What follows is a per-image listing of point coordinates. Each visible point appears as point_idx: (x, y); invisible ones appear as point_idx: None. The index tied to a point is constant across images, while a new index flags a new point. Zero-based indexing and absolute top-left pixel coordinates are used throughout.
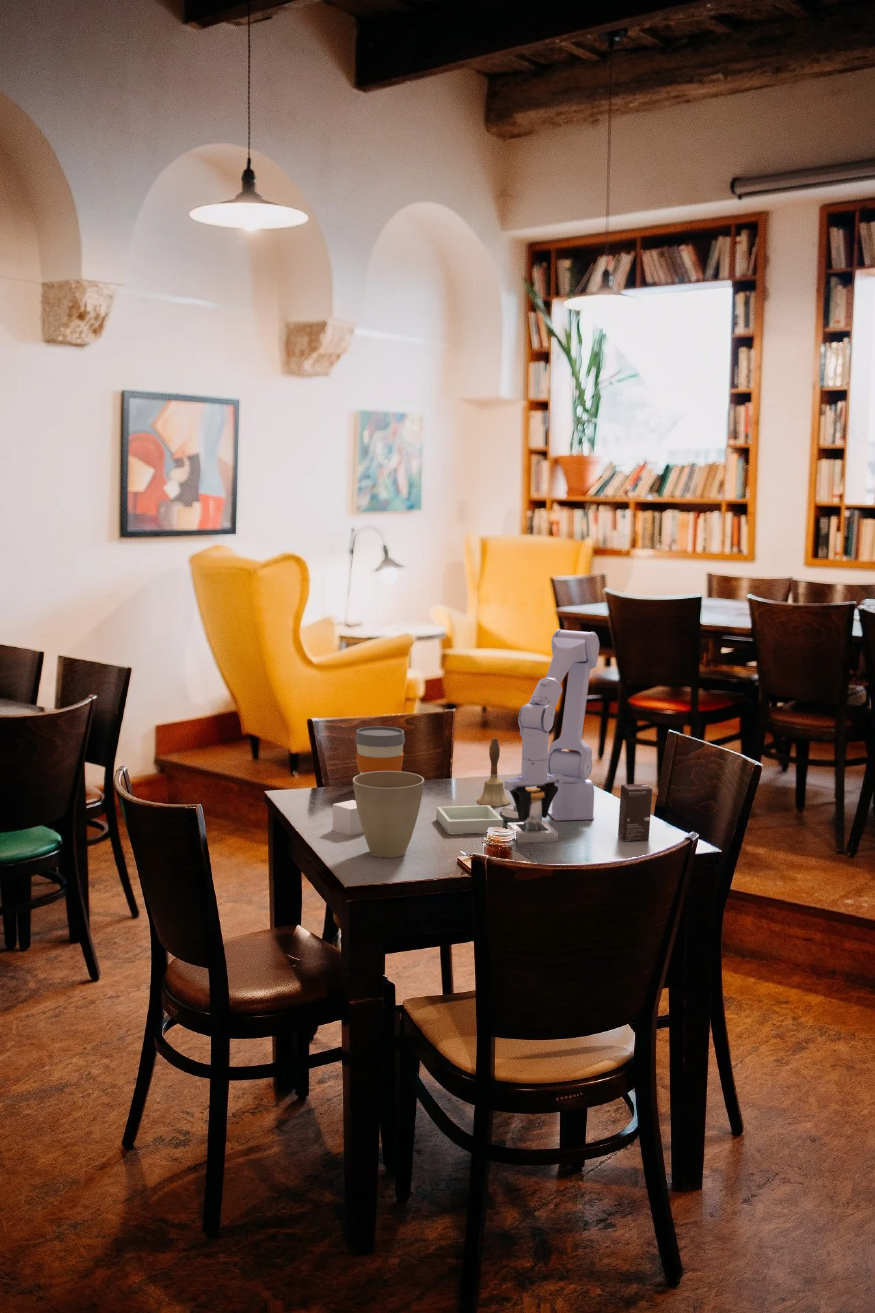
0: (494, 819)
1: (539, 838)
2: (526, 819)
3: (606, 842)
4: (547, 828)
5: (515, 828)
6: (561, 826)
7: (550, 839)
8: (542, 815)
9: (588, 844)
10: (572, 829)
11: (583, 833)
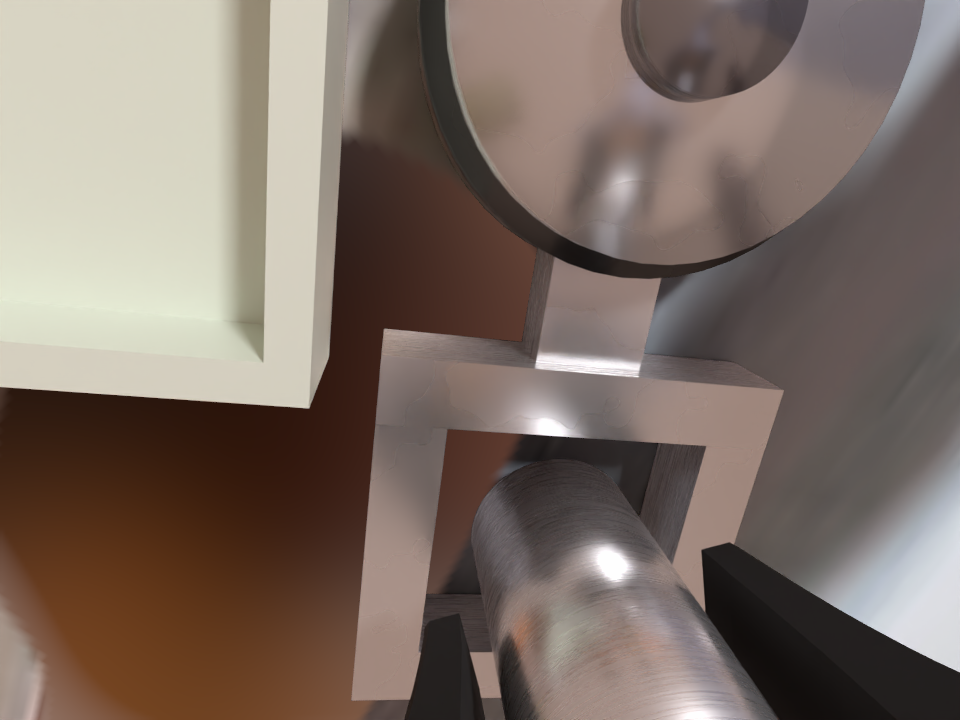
0: (191, 385)
1: None
2: (481, 704)
3: None
4: None
5: (388, 557)
6: (917, 284)
7: None
8: (715, 613)
9: None
10: (933, 386)
11: (929, 495)
